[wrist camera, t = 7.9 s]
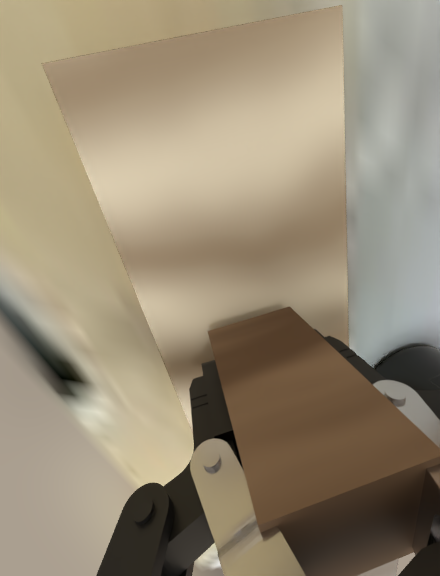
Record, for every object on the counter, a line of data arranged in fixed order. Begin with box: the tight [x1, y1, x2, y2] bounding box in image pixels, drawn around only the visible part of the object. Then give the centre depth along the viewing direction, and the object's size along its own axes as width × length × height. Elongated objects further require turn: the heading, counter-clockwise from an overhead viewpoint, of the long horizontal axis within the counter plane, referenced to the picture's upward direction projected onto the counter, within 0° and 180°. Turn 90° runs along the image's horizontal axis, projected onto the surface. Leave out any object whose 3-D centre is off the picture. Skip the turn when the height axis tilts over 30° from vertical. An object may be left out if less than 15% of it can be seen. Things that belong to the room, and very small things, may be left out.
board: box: [42, 5, 349, 433], centre depth 13 cm, size 26×10×1 cm, turn 13°
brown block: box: [208, 306, 440, 576], centre depth 10 cm, size 11×5×7 cm, turn 13°
